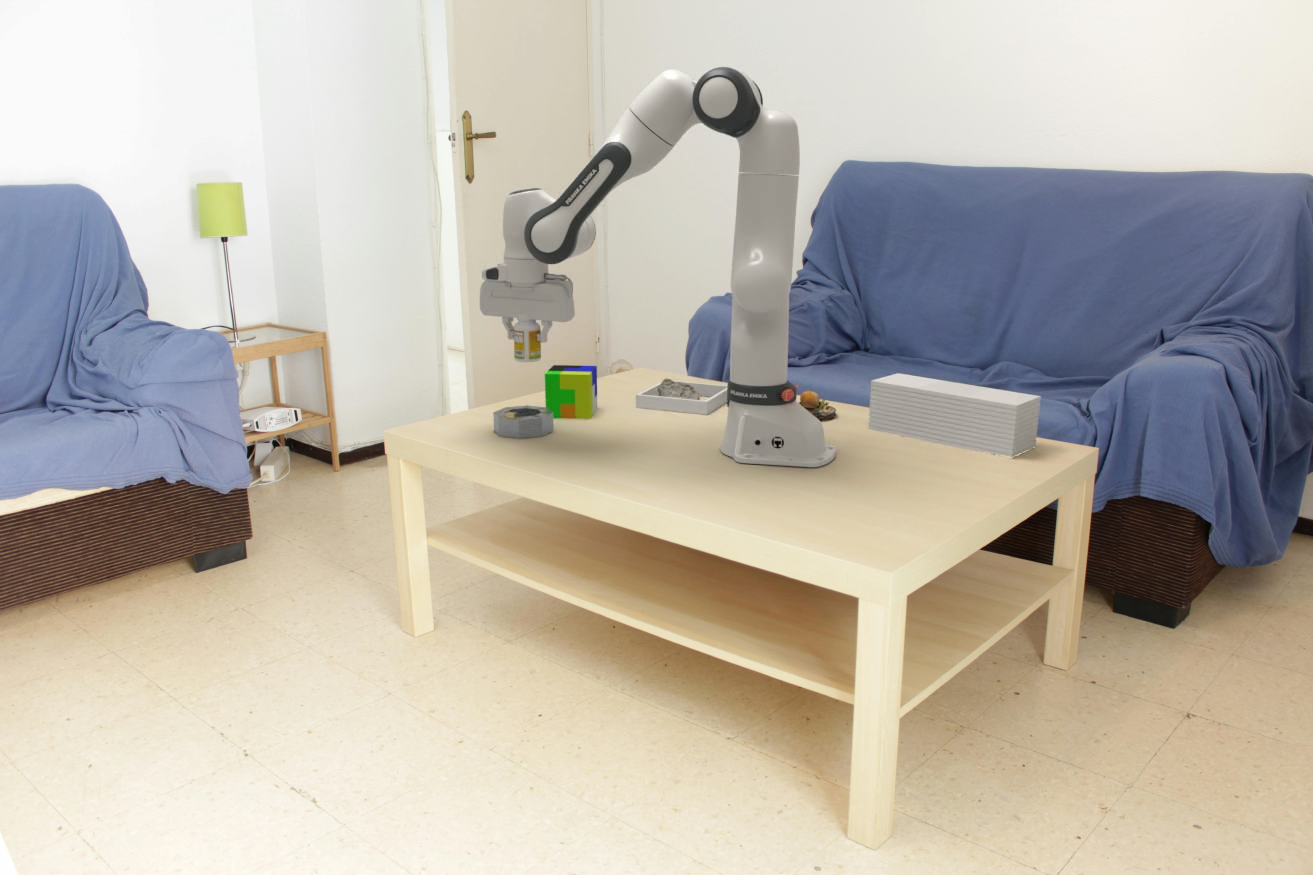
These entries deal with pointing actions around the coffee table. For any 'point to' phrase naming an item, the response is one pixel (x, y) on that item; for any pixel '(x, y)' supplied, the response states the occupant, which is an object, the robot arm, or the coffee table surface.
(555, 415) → the puzzle toy
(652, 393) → the grey sample tray
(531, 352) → the supplement bottle
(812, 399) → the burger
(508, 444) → the coffee table surface
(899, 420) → the stack of papers
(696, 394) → the rock sample
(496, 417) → the ring
